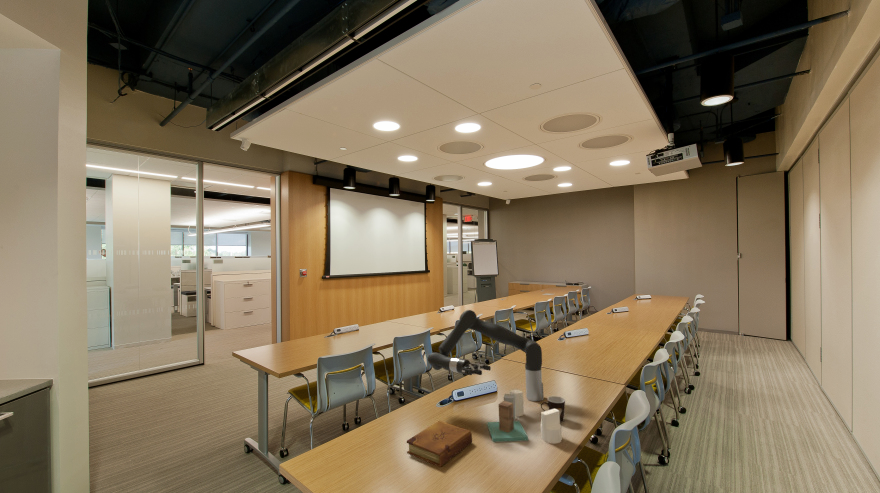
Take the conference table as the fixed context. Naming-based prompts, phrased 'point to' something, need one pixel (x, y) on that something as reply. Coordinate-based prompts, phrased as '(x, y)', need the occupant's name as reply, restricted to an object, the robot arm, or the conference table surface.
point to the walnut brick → (506, 416)
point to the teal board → (514, 435)
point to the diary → (439, 443)
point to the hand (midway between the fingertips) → (486, 370)
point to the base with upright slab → (551, 426)
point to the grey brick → (510, 399)
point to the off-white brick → (518, 402)
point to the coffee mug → (556, 405)
